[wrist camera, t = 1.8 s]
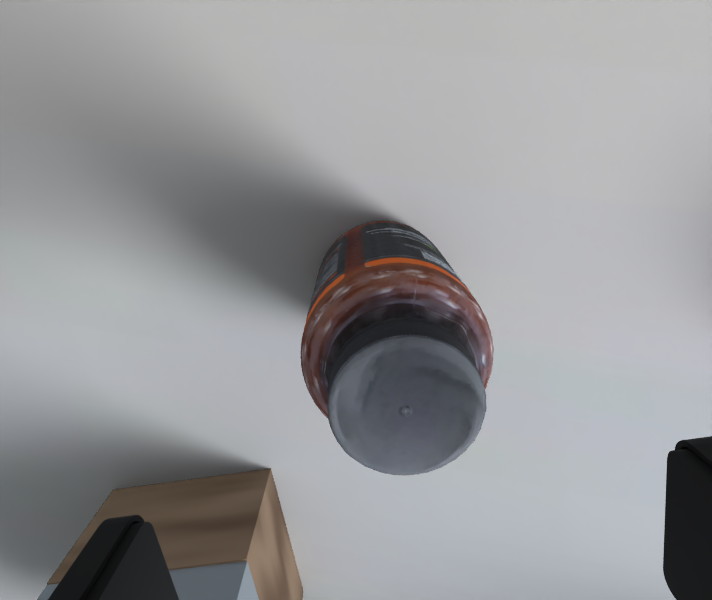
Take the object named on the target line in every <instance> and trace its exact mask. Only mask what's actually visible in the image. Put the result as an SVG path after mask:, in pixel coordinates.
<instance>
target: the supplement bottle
mask: <svg viewBox="0 0 712 600" xmlns="http://www.w3.org/2000/svg"><path fill="white" fill-rule="evenodd" d="M493 351H494V349H493V343H492V336H491V332H490V329H489V325H488V322H487V319H486V317H485V316H484V314H483V312H482V310H481V308H480V306H479V304H478V303H477V301H476V300H475V298H474V297H473V296H472V294H471V293H470V291H469V290H468V288H467V287H466V286H465V284H464V283H463V282H462V280H461V279H460V278H459V276H458V275H457V274H456V272H455V271H454V270H453V269H452V268H451V266H450V265H449V263H448V262H447V261H446V260H445V258H444V257H443V256H442V254H441V253H440V252H439V250H438V249H437V248H436V247H435V246H434V244H433V243H432V242H431V241H430V240H429V239H427V238H426V237H425V236H424V235H423V234H421V233H420V232H419V231H417V230H415V229H414V228H412V227H410V226H407V225H404V224H400V223H397V222H390V221H376V222H370V223H366V224H363V225H360V226H357V227H355V228H353V229H351V230H350V231H348V232H346V233H344V234H343V235H342V236H341V237H340V238H338V239H337V240H336V242H335V243H334V244H333V245H332V246H331V248H330V249H329V251H328V252H327V254H326V256H325V258H324V259H323V262H322V264H321V267H320V270H319V273H318V277H317V281H316V285H315V288H314V292H313V296H312V300H311V304H310V308H309V312H308V315H307V320H306V324H305V328H304V332H303V336H302V343H301V366H302V372H303V376H304V380H305V383H306V386H307V389H308V391H309V393H310V395H311V397H312V399H313V400H314V402H315V404H316V405H317V407H318V408H319V409H320V410H321V412H322V413H323V414H324V415H325V416H326V417H327V418H328V419H329V423H330V427H331V429H332V432H333V434H334V436H335V438H336V440H337V442H338V443H339V444H340V445H341V447H342V448H343V449H344V451H345V452H346V453H347V454H348V455H349V456H351V457H352V458H353V459H355V460H356V461H358V462H359V463H361V464H362V465H364V466H366V467H368V468H371V469H373V470H376V471H379V472H382V473H387V474H392V475H414V474H421V473H427V472H430V471H433V470H435V469H438V468H441V467H443V466H445V465H446V464H448V463H450V462H451V461H453V460H455V459H457V458H458V457H459V456H460V455H461V454H462V453H463V452H465V451H466V450H467V448H468V447H469V446H470V445H471V444H472V443H473V442H474V441H475V438H476V437H477V435H478V433H479V431H480V429H481V426H482V423H483V419H484V415H485V412H486V393H485V389H486V387H487V383H488V381H489V378H490V375H491V371H492V364H493Z"/></svg>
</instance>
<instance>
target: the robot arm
mask: <svg viewBox="0 0 712 600" xmlns="http://www.w3.org/2000/svg"><path fill="white" fill-rule="evenodd" d="M663 571H664V576H665V580H666V582H667V585H668V587H669V589H670V591H671V592H672V594H673V596H674V597H675V598H676V600H712V436H711V437H704V438H696V439H689V440H682V441H679V442H678V443H677V444H676V447H675V450H674V451H670V452H669V454H668V457H667V480H666V507H665V534H664V561H663ZM48 600H179V598H178V595H177V592H176V590H175V587H174V584H173V581H172V578H171V576H170V573H169V570H168V567H167V564H166V562H165V559H164V556H163V553H162V550H161V547H160V545H159V542H158V539H157V536H156V533H155V531H154V528H153V526H152V524H151V523H150V522H145V521H144V520H143V518H142V517H141V516H140V515H130V516H123V517H116V518H108V519H106V520H104V521H103V522H102V523H101V524H100V525H99V527H98V528H97V529H96V531H95V532H94V534H93V535H92V537H91V538H90V540H89V541H88V542H87V544H86V545H85V547H84V548H83V550H82V551H81V552H80V554H79V555H78V557H77V558H76V560H75V561H74V563H73V564H72V565H71V567H70V568H69V570H68V571H67V573H66V574H65V576H64V577H63V578H62V580H61V581H60V583H59V584H58V586H57V587H56V588H55V590H54V591H53V593H52V594H51V596H50V597H49V599H48Z"/></svg>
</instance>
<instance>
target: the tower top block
mask: <svg viewBox="0 0 712 600" xmlns="http://www.w3.org/2000/svg"><path fill="white" fill-rule="evenodd" d="M169 573H170V576H171V578H172V581H173V584H174V587H175V590H176V592H177V595H178V598H179V600H259V598H258V595H257V592H256V588H255V585H254V582H253V578H252V575H251V572H250V568H249V565H248V562H247V561H243V562H234V563H226V564H217V565H209V566H200V567H192V568H184V569H175V570H169ZM58 584H59V583H57V584H49V585H47V586H46V588H45V589H44V591H43V592H42V593H41V595H40V596H39V598H38V599H37V600H48V599H49V597H50V596H51V594H52V593H53V591H54V590H55V588H56V587H57V586H58Z"/></svg>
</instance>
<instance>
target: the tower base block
mask: <svg viewBox="0 0 712 600" xmlns="http://www.w3.org/2000/svg"><path fill="white" fill-rule="evenodd" d="M130 515H140V516H141V517H142V518H143V520H144V521H145V522H150V523H151V524H152V526H153V528H154V531H155V533H156V536H157V539H158V542H159V545H160V547H161V550H162V553H163V556H164V559H165V562H166V564H167V567H168V570H175V569H184V568H192V567H200V566H209V565H217V564H226V563H234V562H243V561H247V562H248V565H249V568H250V572H251V575H252V578H253V582H254V585H255V588H256V592H257V595H258V598H259V600H302V598H303V587H302V584H301V580H300V576H299V572H298V569H297V565H296V561H295V557H294V554H293V550H292V546H291V542H290V539H289V535H288V531H287V527H286V524H285V520H284V516H283V512H282V509H281V505H280V501H279V497H278V494H277V490H276V486H275V482H274V479H273V475H272V471H271V469H264V470H256V471H249V472H242V473H234V474H227V475H219V476H212V477H204V478H197V479H189V480H182V481H174V482H167V483H159V484H152V485H144V486H137V487H130V488H122V489H115V490H113V491H112V492H111V493H110V495H109V496H108V498H107V499H106V501H105V502H104V503H103V505H102V506H101V508H100V509H99V510H98V512H97V513H96V515H95V516H94V518H93V519H92V520H91V522H90V523H89V525H88V526H87V527H86V529H85V530H84V532H83V533H82V535H81V536H80V537H79V539H78V540H77V542H76V543H75V544H74V546H73V547H72V549H71V550H70V552H69V553H68V554H67V556H66V557H65V559H64V560H63V561H62V563H61V564H60V566H59V567H58V569H57V570H56V571H55V573H54V574H53V576H52V577H51V578H50V580H49V581H48V583H47V585H49V584H57V583H60V581H61V580H62V578H63V577H64V576H65V574H66V573H67V571H68V570H69V568H70V567H71V565H72V564H73V563H74V561H75V560H76V558H77V557H78V555H79V554H80V552H81V551H82V550H83V548H84V547H85V545H86V544H87V542H88V541H89V540H90V538H91V537H92V535H93V534H94V532H95V531H96V529H97V528H98V527H99V525H100V524H101V523H102V522H103V521H104V520H106V519H108V518H116V517H123V516H130Z"/></svg>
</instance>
